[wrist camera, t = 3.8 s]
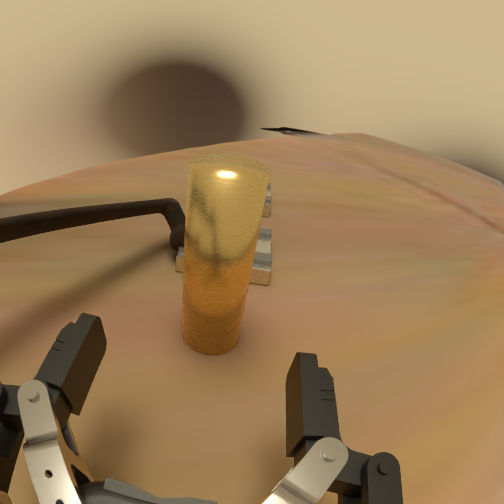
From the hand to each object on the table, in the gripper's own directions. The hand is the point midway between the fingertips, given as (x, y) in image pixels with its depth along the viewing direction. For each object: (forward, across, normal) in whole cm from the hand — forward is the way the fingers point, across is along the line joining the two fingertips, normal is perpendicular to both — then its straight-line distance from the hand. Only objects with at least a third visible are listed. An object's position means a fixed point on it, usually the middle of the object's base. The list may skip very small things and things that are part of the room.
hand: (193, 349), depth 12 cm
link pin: (+7, 0, +7) cm, 10 cm away
